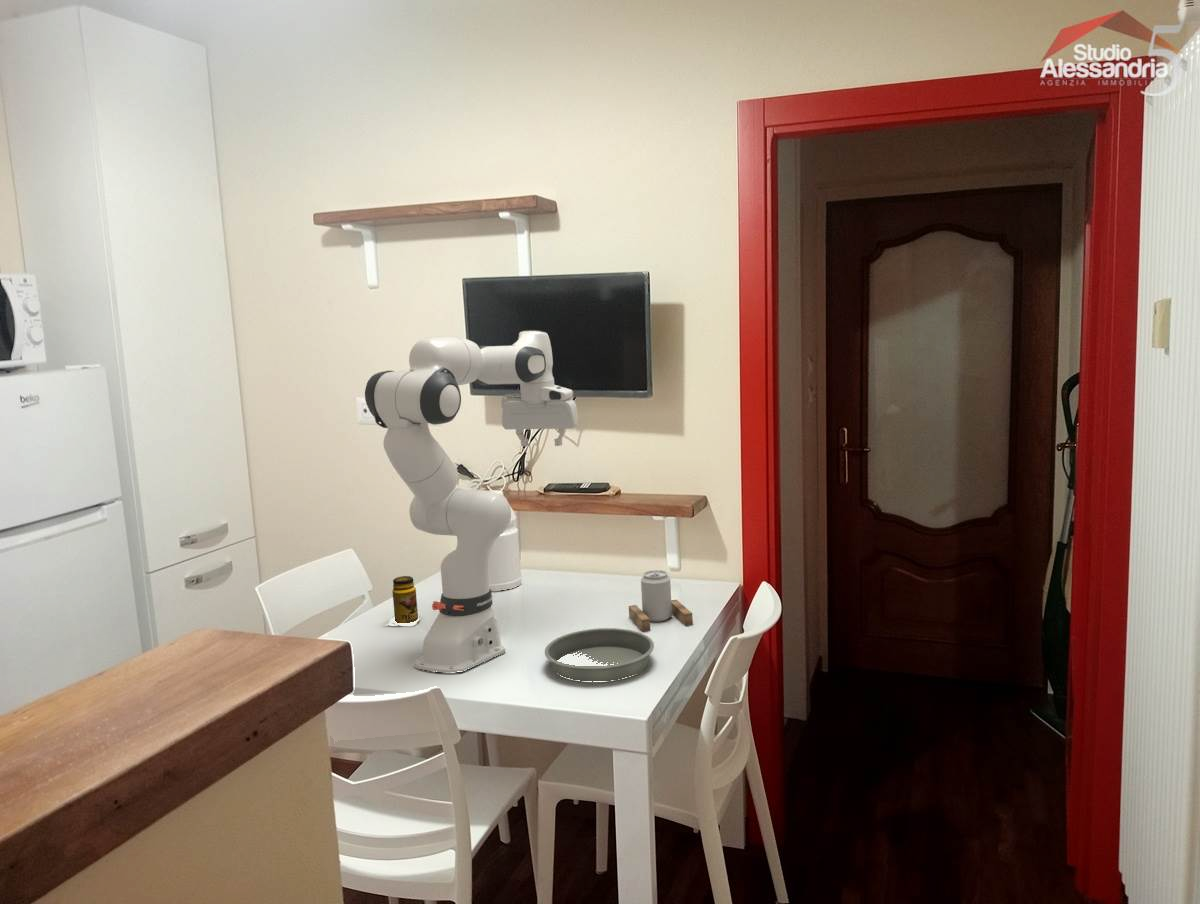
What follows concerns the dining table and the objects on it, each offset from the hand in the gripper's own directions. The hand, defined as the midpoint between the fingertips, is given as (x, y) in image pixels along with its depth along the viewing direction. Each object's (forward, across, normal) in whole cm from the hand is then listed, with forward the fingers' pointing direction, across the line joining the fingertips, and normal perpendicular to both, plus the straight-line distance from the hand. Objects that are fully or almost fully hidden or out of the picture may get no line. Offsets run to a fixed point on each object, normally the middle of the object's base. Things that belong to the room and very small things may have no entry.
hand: (541, 445), depth 247 cm
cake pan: (+45, +24, -36) cm, 62 cm away
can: (+45, +30, -4) cm, 54 cm away
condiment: (+44, -36, -16) cm, 60 cm away
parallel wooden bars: (+44, +31, -6) cm, 54 cm away
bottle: (+45, -24, +19) cm, 54 cm away
